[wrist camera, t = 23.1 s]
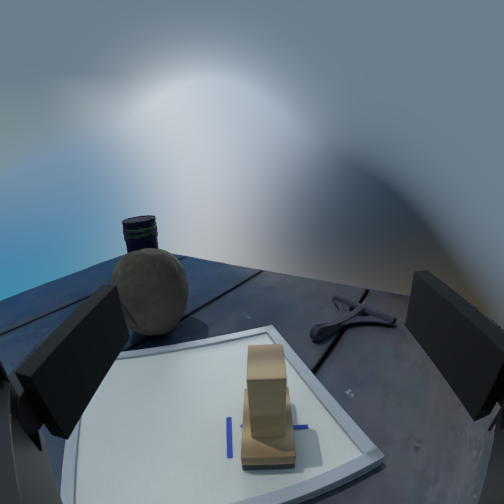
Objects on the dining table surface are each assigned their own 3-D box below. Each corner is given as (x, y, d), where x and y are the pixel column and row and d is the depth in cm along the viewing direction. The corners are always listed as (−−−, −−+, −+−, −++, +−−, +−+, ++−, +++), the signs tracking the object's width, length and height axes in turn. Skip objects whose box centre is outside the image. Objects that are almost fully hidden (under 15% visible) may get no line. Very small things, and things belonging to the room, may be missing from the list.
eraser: (294, 468, 23) (301, 398, 20) (242, 470, 23) (232, 401, 20) (287, 401, 32) (290, 328, 29) (245, 402, 32) (239, 330, 29)
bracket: (283, 325, 52) (283, 312, 51) (337, 300, 60) (338, 287, 59) (345, 362, 41) (348, 347, 40) (395, 324, 49) (398, 311, 48)
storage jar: (127, 277, 78) (118, 224, 73) (131, 266, 87) (124, 218, 82) (162, 273, 80) (155, 219, 76) (162, 262, 89) (156, 214, 85)
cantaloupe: (208, 333, 51) (198, 251, 46) (131, 359, 43) (109, 271, 39) (177, 304, 62) (167, 235, 57) (114, 322, 54) (98, 250, 50)
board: (380, 465, 23) (385, 455, 22) (69, 533, 13) (59, 527, 12) (272, 334, 50) (272, 324, 49) (85, 365, 40) (81, 356, 40)
